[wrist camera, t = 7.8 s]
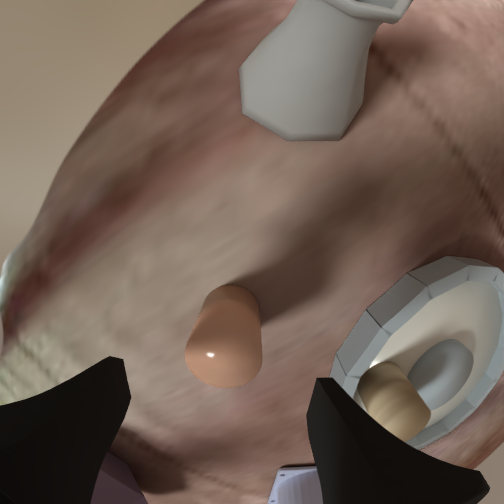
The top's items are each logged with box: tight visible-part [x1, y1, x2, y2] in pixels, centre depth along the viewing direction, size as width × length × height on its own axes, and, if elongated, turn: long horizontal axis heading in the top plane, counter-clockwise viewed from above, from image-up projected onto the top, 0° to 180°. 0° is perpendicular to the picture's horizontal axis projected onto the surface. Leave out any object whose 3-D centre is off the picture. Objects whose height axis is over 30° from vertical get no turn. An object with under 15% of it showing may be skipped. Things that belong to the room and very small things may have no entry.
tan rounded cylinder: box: [357, 361, 431, 442], centre depth 14 cm, size 3×3×5 cm
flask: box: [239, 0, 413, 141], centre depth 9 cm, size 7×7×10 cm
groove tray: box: [329, 256, 504, 450], centre depth 16 cm, size 18×18×2 cm
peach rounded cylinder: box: [185, 285, 262, 388], centre depth 14 cm, size 3×3×5 cm
